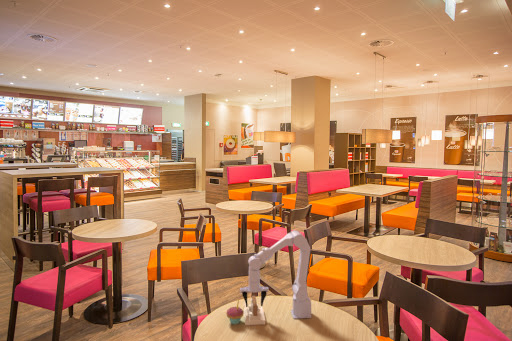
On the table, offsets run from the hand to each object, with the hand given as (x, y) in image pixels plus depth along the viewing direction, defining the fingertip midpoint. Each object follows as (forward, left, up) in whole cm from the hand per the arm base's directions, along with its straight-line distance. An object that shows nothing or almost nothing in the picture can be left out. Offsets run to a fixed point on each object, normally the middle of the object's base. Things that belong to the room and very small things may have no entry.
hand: (254, 305), depth 161 cm
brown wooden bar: (0, 0, -2) cm, 2 cm away
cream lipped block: (0, 0, -6) cm, 6 cm away
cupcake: (+10, +3, -7) cm, 12 cm away
